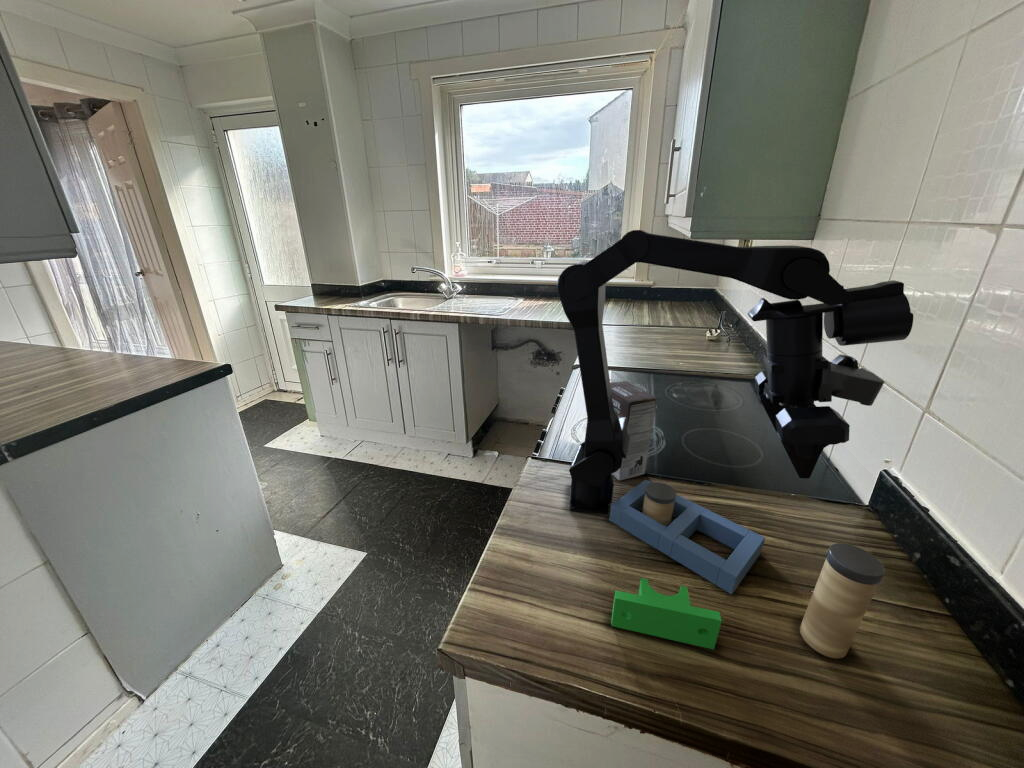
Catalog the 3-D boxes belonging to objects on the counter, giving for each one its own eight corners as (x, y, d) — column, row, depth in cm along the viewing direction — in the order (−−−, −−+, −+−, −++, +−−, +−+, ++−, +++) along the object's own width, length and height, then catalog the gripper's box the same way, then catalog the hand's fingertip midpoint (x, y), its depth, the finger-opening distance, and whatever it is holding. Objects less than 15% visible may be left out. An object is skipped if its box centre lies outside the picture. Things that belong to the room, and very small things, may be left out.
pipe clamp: (707, 620, 48) (715, 592, 46) (713, 650, 45) (722, 621, 43) (611, 599, 51) (615, 571, 49) (610, 626, 47) (615, 597, 46)
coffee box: (591, 457, 82) (597, 383, 76) (617, 451, 84) (625, 379, 78) (619, 482, 74) (628, 402, 68) (646, 474, 76) (658, 396, 70)
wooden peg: (811, 655, 44) (845, 573, 40) (791, 618, 48) (820, 540, 44) (857, 662, 44) (896, 578, 39) (832, 624, 48) (866, 545, 43)
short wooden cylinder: (642, 530, 62) (648, 498, 60) (638, 511, 66) (643, 480, 64) (673, 533, 62) (679, 501, 59) (667, 514, 66) (672, 483, 64)
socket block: (608, 520, 64) (610, 504, 63) (643, 493, 71) (645, 479, 70) (731, 594, 51) (736, 577, 50) (760, 553, 58) (765, 537, 57)
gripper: (917, 365, 39) (906, 502, 44) (845, 325, 55) (842, 427, 60) (782, 375, 44) (784, 499, 48) (752, 335, 60) (756, 430, 64)
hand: (794, 459), depth 55 cm, fingers open, 9 cm apart
